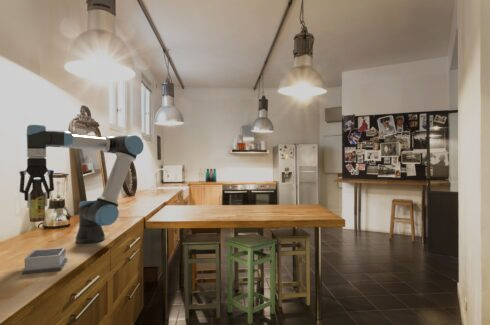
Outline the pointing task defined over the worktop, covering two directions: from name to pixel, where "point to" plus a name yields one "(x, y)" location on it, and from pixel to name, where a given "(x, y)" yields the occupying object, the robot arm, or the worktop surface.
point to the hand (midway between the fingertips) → (37, 206)
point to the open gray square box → (45, 260)
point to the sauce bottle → (37, 202)
